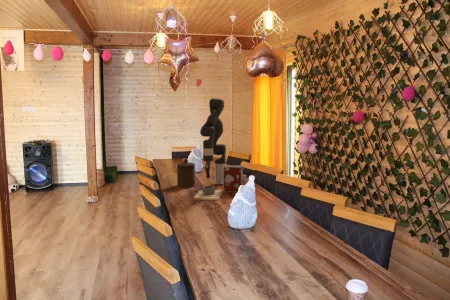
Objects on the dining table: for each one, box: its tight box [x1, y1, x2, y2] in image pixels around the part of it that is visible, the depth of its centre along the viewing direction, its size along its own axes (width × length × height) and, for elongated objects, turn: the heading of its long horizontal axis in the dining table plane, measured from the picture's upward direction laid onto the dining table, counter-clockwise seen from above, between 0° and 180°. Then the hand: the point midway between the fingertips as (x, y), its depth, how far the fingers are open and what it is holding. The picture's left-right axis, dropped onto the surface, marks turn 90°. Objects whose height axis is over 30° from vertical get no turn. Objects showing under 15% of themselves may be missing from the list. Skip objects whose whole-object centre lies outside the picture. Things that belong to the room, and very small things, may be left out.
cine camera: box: [222, 164, 249, 193], centre depth 309 cm, size 9×19×20 cm, turn 78°
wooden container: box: [176, 158, 196, 188], centre depth 332 cm, size 15×15×22 cm
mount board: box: [193, 189, 224, 201], centre depth 297 cm, size 24×18×2 cm
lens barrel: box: [202, 185, 216, 195], centre depth 297 cm, size 8×8×5 cm
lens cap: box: [204, 168, 213, 181], centre depth 295 cm, size 4×4×8 cm
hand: (208, 177), depth 295 cm, fingers closed on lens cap, 4 cm apart
